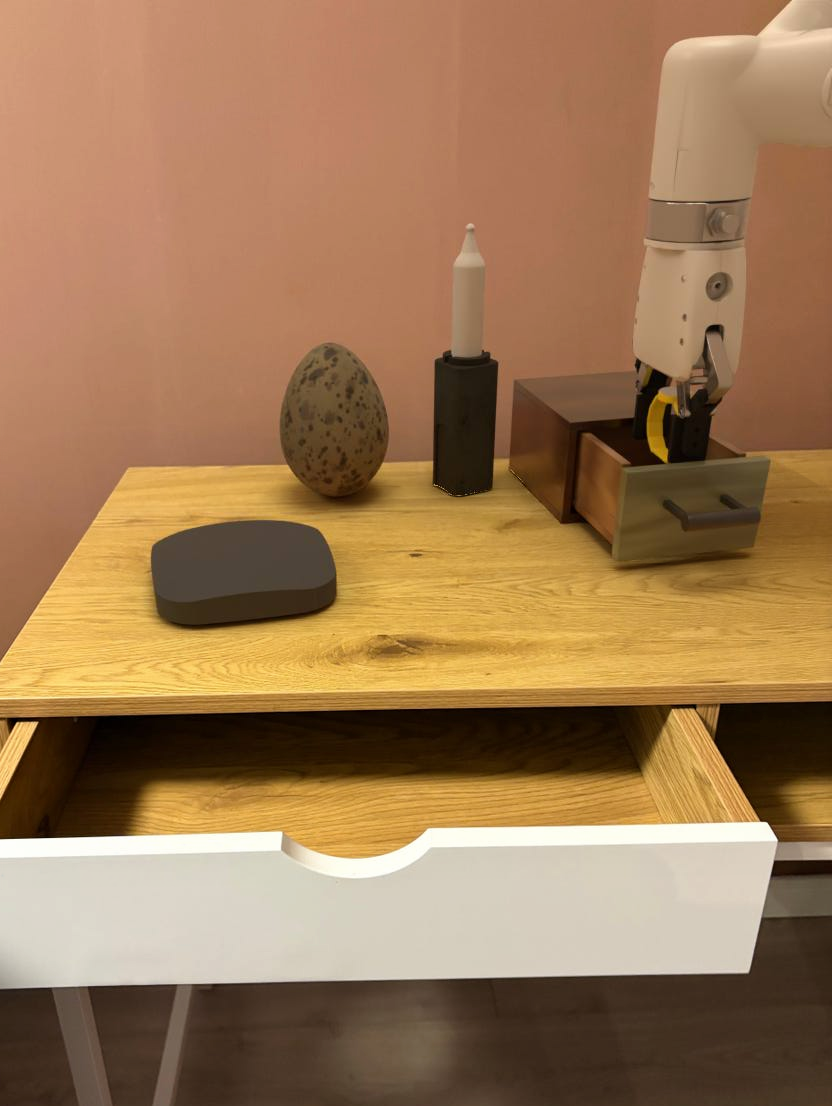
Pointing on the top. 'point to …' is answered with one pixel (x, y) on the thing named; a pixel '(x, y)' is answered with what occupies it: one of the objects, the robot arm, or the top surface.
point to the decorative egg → (333, 422)
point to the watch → (660, 420)
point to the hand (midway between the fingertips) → (667, 447)
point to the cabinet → (564, 429)
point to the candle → (465, 386)
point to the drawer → (666, 495)
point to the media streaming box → (242, 572)
